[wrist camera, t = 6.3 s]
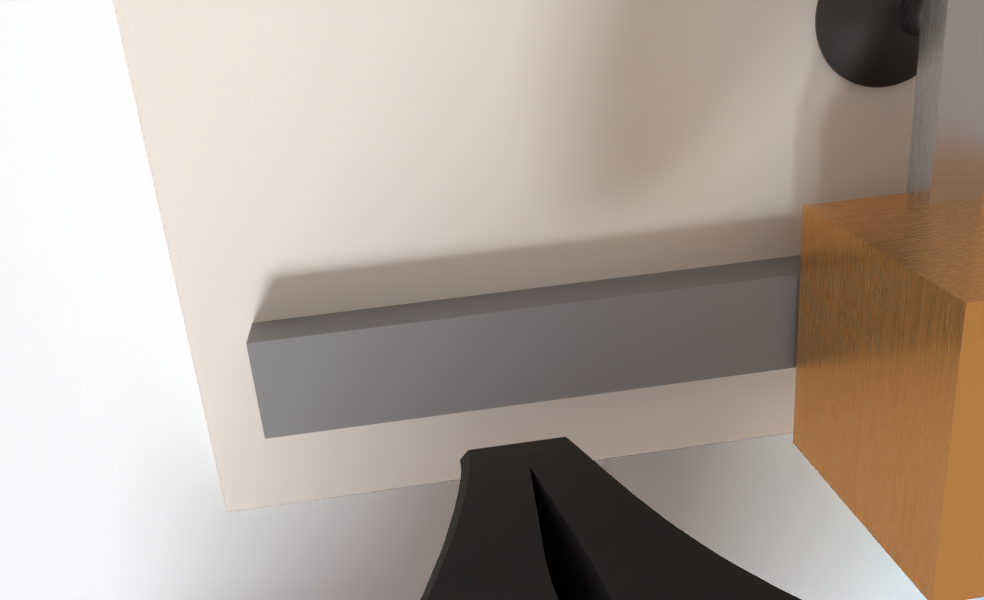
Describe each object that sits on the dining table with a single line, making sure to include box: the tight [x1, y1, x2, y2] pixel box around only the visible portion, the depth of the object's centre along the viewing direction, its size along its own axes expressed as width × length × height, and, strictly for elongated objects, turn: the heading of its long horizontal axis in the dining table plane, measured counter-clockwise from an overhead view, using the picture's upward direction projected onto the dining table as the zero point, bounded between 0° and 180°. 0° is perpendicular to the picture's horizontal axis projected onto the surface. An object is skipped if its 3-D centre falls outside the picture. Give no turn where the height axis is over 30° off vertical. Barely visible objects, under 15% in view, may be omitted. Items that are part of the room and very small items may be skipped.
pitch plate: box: [113, 0, 919, 512], centre depth 13 cm, size 22×9×6 cm, turn 95°
